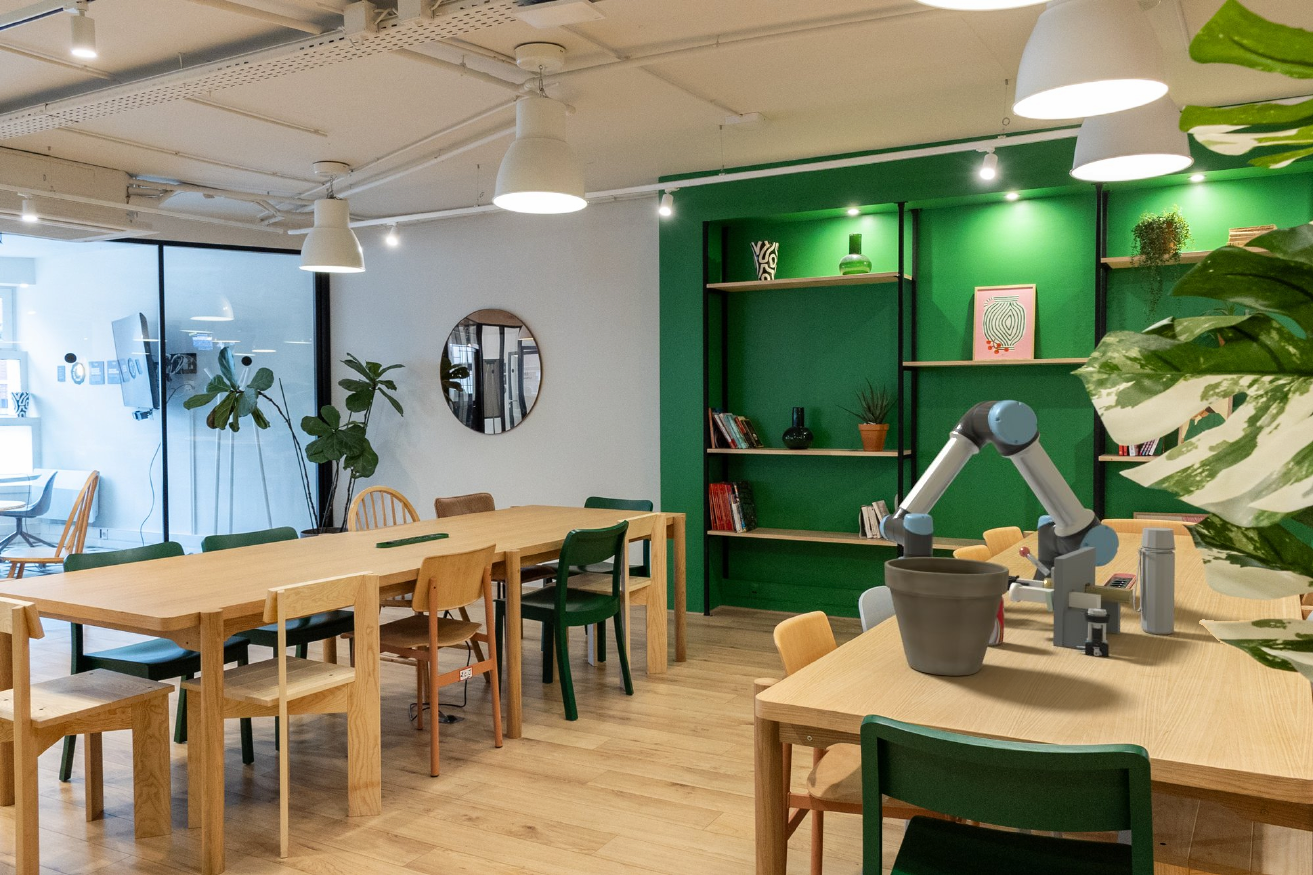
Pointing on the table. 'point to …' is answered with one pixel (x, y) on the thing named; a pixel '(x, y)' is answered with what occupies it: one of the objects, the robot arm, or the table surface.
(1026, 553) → the toggle lever
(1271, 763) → the table surface
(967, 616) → the plant pot
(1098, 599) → the white plunger
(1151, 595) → the water bottle
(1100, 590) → the brass plunger
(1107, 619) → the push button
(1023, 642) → the table surface
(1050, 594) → the rocker
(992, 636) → the soda can
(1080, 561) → the panel
